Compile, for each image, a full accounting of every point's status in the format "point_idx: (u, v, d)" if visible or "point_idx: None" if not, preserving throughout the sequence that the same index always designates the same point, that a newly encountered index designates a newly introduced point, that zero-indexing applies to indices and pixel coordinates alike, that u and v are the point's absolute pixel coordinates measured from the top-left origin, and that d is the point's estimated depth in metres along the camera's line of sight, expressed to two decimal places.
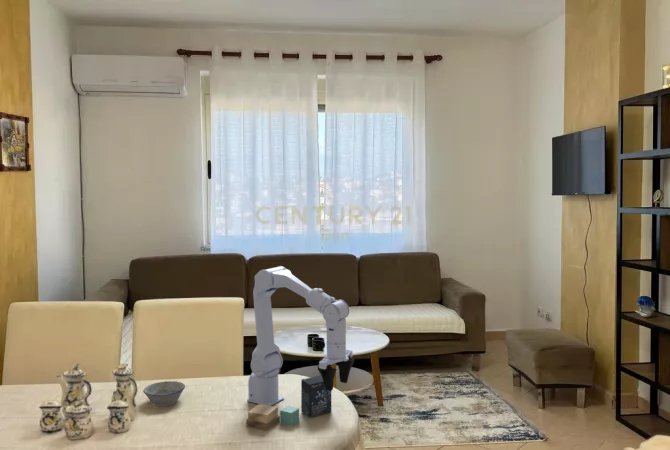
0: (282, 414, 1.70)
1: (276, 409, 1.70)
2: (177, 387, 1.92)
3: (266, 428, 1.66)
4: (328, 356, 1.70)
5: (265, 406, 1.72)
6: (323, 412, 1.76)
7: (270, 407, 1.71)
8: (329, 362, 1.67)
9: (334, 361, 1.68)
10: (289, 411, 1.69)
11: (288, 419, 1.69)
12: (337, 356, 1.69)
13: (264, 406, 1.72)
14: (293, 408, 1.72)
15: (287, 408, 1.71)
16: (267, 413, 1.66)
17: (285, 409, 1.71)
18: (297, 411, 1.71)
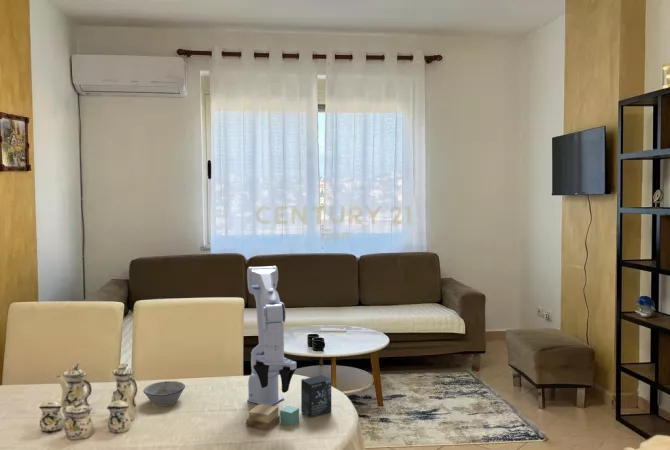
0: (282, 414, 1.70)
1: (276, 409, 1.71)
2: (177, 387, 1.92)
3: (266, 428, 1.66)
4: None
5: (265, 405, 1.72)
6: (323, 412, 1.76)
7: (270, 407, 1.71)
8: (257, 358, 1.72)
9: (260, 359, 1.70)
10: (289, 411, 1.69)
11: (288, 419, 1.69)
12: (264, 356, 1.70)
13: (264, 406, 1.72)
14: (293, 408, 1.72)
15: (287, 408, 1.71)
16: (268, 413, 1.67)
17: (285, 409, 1.71)
18: (297, 411, 1.71)
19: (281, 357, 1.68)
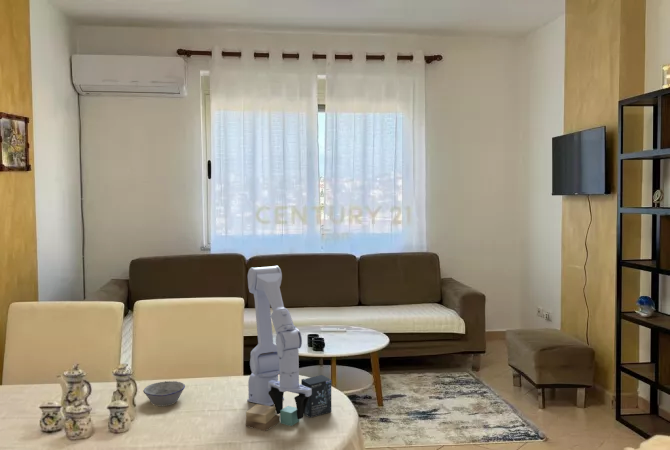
0: (282, 414, 1.70)
1: (274, 409, 1.71)
2: (177, 387, 1.92)
3: (266, 428, 1.65)
4: None
5: (262, 406, 1.72)
6: (323, 412, 1.76)
7: (268, 407, 1.71)
8: (272, 384, 1.72)
9: (275, 386, 1.71)
10: (289, 411, 1.69)
11: (288, 419, 1.69)
12: (279, 383, 1.70)
13: (262, 406, 1.72)
14: (293, 408, 1.72)
15: (287, 408, 1.71)
16: (266, 413, 1.66)
17: (285, 409, 1.71)
18: None
19: (296, 384, 1.69)
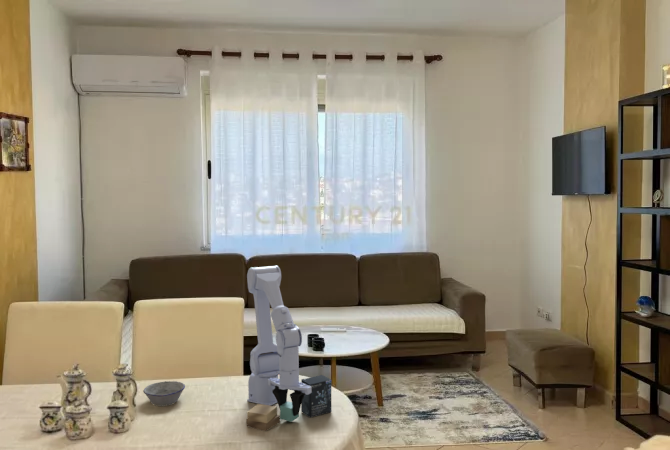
0: (282, 410, 1.70)
1: (275, 409, 1.71)
2: (177, 387, 1.92)
3: (266, 428, 1.65)
4: None
5: (264, 405, 1.72)
6: (323, 412, 1.76)
7: (269, 407, 1.71)
8: (272, 382, 1.72)
9: (275, 383, 1.71)
10: (289, 407, 1.69)
11: (287, 414, 1.69)
12: (279, 381, 1.70)
13: (263, 406, 1.72)
14: None
15: (287, 404, 1.71)
16: (267, 413, 1.66)
17: (285, 405, 1.71)
18: None
19: (296, 381, 1.69)
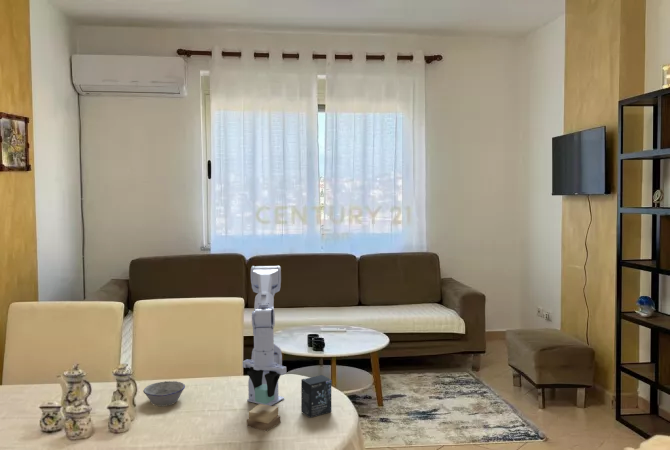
0: (257, 392, 1.68)
1: (276, 409, 1.71)
2: (177, 387, 1.92)
3: (267, 428, 1.65)
4: None
5: (265, 406, 1.72)
6: (323, 412, 1.76)
7: (270, 407, 1.71)
8: (247, 363, 1.70)
9: (250, 364, 1.69)
10: (264, 389, 1.68)
11: (262, 396, 1.67)
12: (254, 361, 1.68)
13: (264, 406, 1.72)
14: None
15: (262, 386, 1.70)
16: (268, 413, 1.66)
17: (260, 387, 1.69)
18: None
19: (271, 362, 1.67)
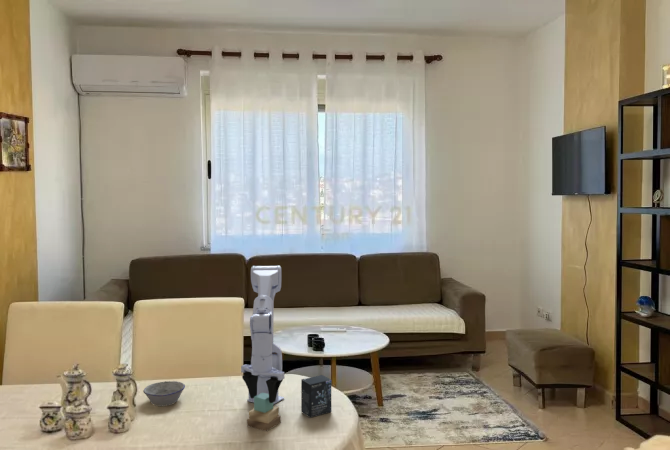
0: (256, 401, 1.68)
1: (277, 409, 1.71)
2: (177, 387, 1.92)
3: (267, 428, 1.65)
4: None
5: None
6: (323, 412, 1.76)
7: None
8: (245, 368, 1.70)
9: (248, 370, 1.69)
10: (263, 397, 1.68)
11: (261, 405, 1.67)
12: None
13: None
14: (267, 395, 1.70)
15: (261, 395, 1.70)
16: (268, 413, 1.66)
17: (259, 395, 1.69)
18: None
19: (269, 367, 1.67)
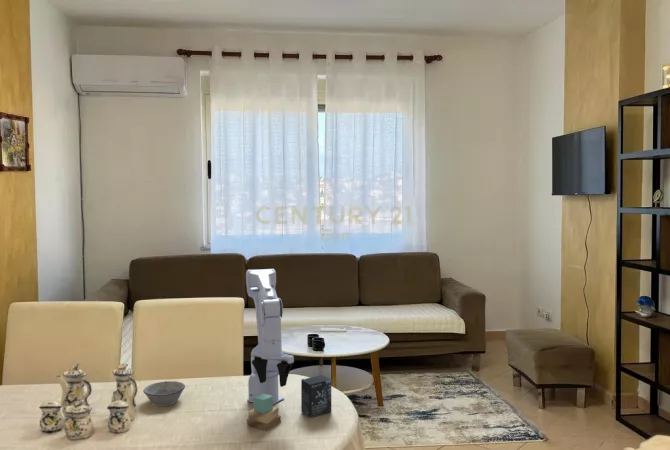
0: (255, 401, 1.68)
1: (276, 409, 1.70)
2: (177, 387, 1.92)
3: (267, 428, 1.66)
4: None
5: None
6: (323, 412, 1.76)
7: None
8: (255, 353, 1.75)
9: (258, 354, 1.74)
10: (262, 398, 1.67)
11: (260, 406, 1.67)
12: (262, 351, 1.73)
13: None
14: (267, 395, 1.69)
15: (261, 396, 1.69)
16: (267, 413, 1.66)
17: (259, 396, 1.69)
18: (270, 399, 1.69)
19: (279, 351, 1.72)
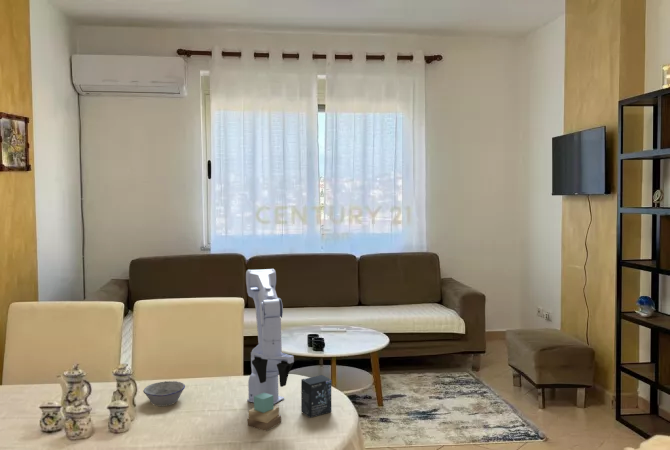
0: (255, 400, 1.68)
1: (277, 409, 1.71)
2: (177, 387, 1.92)
3: (267, 428, 1.66)
4: None
5: None
6: (323, 412, 1.76)
7: None
8: (255, 353, 1.75)
9: (258, 354, 1.74)
10: (262, 397, 1.68)
11: (260, 405, 1.67)
12: (262, 351, 1.73)
13: None
14: (267, 395, 1.70)
15: (262, 395, 1.70)
16: (267, 413, 1.67)
17: (259, 395, 1.69)
18: (271, 398, 1.69)
19: (279, 351, 1.72)
